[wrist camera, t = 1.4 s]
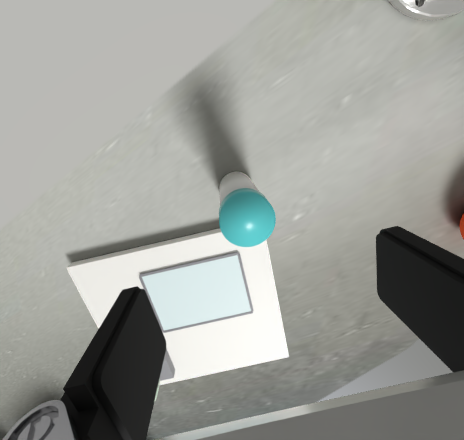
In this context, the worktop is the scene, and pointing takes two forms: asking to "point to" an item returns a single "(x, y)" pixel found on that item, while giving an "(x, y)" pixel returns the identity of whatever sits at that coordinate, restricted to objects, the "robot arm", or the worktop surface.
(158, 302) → the picture board
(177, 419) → the worktop surface
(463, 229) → the clementine
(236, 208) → the white cylinder
